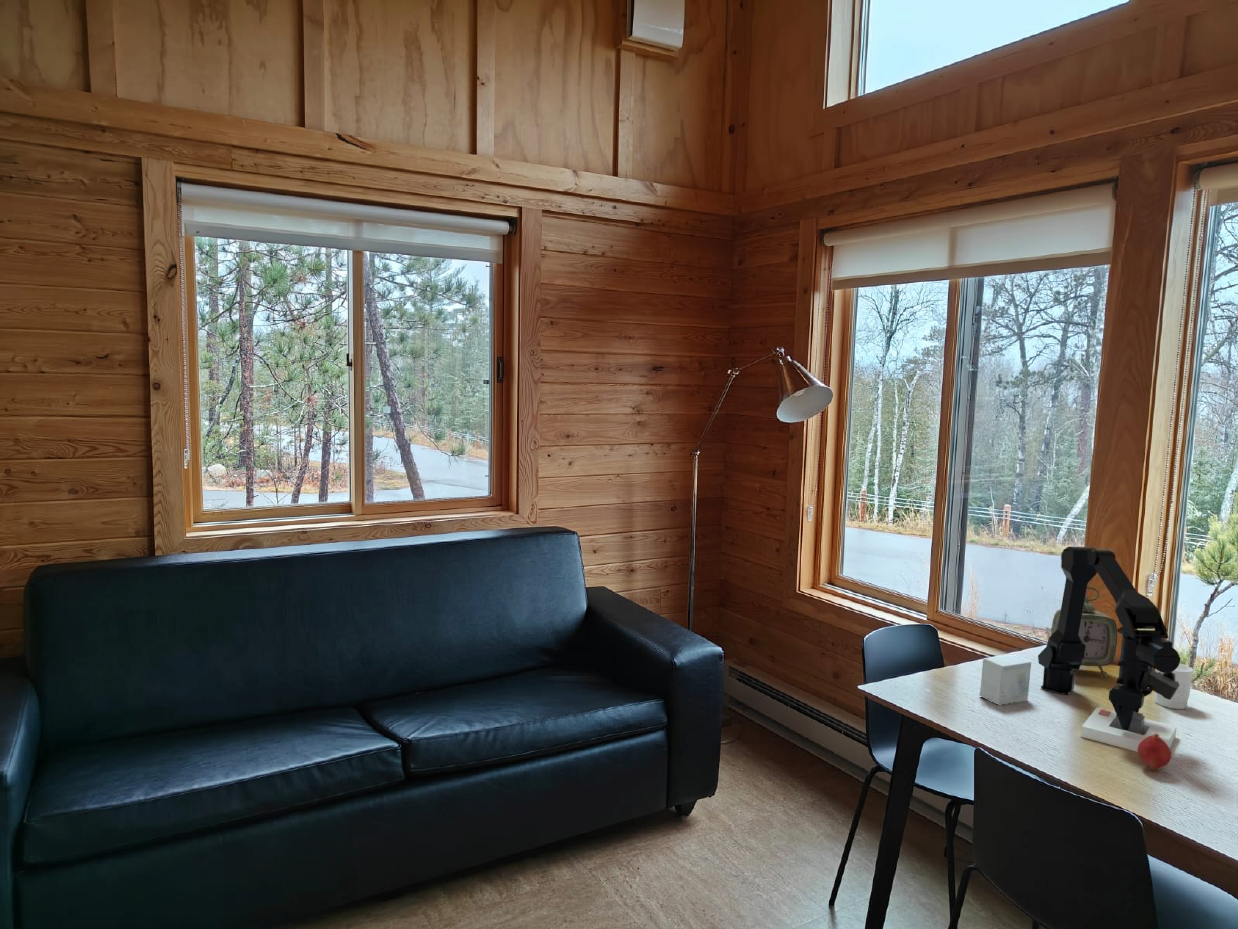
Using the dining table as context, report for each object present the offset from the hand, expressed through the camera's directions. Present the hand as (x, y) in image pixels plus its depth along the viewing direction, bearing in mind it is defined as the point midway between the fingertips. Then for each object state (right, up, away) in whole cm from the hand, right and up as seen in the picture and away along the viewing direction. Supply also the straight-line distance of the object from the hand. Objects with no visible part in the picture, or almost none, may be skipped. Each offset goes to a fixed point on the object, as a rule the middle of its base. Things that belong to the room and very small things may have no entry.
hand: (1129, 724), depth 186 cm
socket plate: (0, -3, 0) cm, 3 cm away
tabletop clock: (+14, 0, +44) cm, 46 cm away
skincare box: (-18, -1, +22) cm, 28 cm away
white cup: (+24, -2, +22) cm, 32 cm away
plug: (0, -2, 0) cm, 2 cm away
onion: (-5, -5, -16) cm, 18 cm away
